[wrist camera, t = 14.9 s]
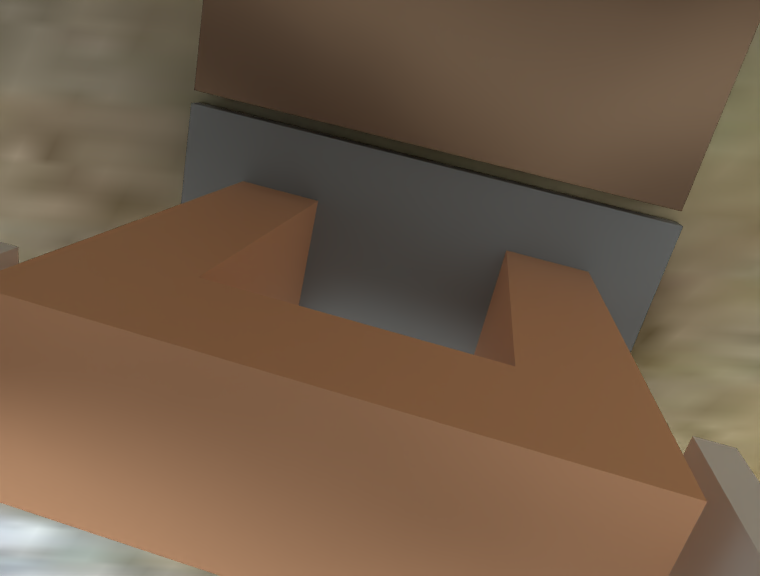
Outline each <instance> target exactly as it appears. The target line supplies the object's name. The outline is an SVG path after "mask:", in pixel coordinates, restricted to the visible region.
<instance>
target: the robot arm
mask: <svg viewBox="0 0 760 576" xmlns="http://www.w3.org/2000/svg"><path fill="white" fill-rule="evenodd" d="M17 264H19V260H18V247H17V246H13V245H9V244H6V243H2V242H0V270H3V269H6V268H9V267H11V266H14V265H17ZM683 456H684V458H685V460H686V462H687V464H688V466H689V467H690V469H691V471H692V473H693V475H694V477H695V479H696V481H697V483H698V485H699V487H700V489H701V491H702V493H703V495H704V497H705V498H706V500H707V503H706V505H705V507H704V509H703V511H702V513H701V515H700V517H699V518H698V520H697V522H696V524H695V526H694V528H693V530H692V532H691V534H690V536H689V538H688V540H687V541H686V543H685V545H684V547H683V549H682V551H681V553H680V555H679V557H678V559H677V561H676V563H675V564H674V566H673V568H672V570H671V572H670V574H669V576H760V483H759V481H758V480H757V478H756V477H755V475H754V474H753V472H752V471H751V469H750V468H749V466H748V465H747V463H746V461H745V460H744V458H743V457H742V455H741V454H740V452H739V451H738V449H737V448H734V447H730V446H727V445H723V444H720V443H716V442H712V441H709V440H705V439H702V438H698V437H695V436H693V437H692V439H691V441H690V443H689V445H688V447H687V449H686V451H685V453H684V455H683Z"/></svg>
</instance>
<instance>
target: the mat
mask: <svg viewBox="0 0 760 576" xmlns="http://www.w3.org/2000/svg"><path fill="white" fill-rule="evenodd" d="M242 181H244V182H248V183H252V184H256V185H259V186H263V187H267V188H271V189H275V190H278V191H282V192H286V193H290V194H294V195H297V196H301V197H305V198H309V199H313V200H317V201H318V204H317V209H316V215H315V220H314V226H313V231H312V236H311V242H310V247H309V253H308V258H307V263H306V269H305V274H304V280H303V285H302V290H301V296H300V301H299V306H302V307H306V308H309V309H313V310H316V311H320V312H323V313H327V314H331V315H334V316H338V317H341V318H345V319H348V320H352V321H355V322H359V323H363V324H366V325H370V326H373V327H377V328H380V329H384V330H387V331H391V332H394V333H398V334H402V335H405V336H409V337H412V338H416V339H419V340H423V341H426V342H430V343H434V344H437V345H441V346H444V347H448V348H451V349H455V350H458V351H462V352H465V353H469V354H473V355H474V353H475V350H476V347H477V343H478V340H479V337H480V334H481V331H482V327H483V324H484V321H485V318H486V315H487V311H488V308H489V305H490V302H491V298H492V295H493V292H494V289H495V286H496V282H497V279H498V276H499V273H500V269H501V266H502V263H503V260H504V257H505V253H506V250H507V251H511V252H515V253H518V254H522V255H526V256H530V257H534V258H537V259H541V260H545V261H549V262H553V263H556V264H560V265H564V266H568V267H572V268H575V269H579V270H583V271H587V272H589V274H590V276H591V278H592V280H593V281H594V283H595V285H596V287H597V289H598V291H599V293H600V295H601V297H602V299H603V301H604V303H605V305H606V307H607V309H608V311H609V312H610V314H611V316H612V318H613V320H614V322H615V324H616V326H617V328H618V330H619V332H620V334H621V336H622V338H623V340H624V342H625V343H626V345H627V347H628V349H629V351H630V352H631V350H632V348H633V345H634V343H635V340H636V338H637V336H638V333H639V331H640V328H641V326H642V324H643V321H644V319H645V316H646V314H647V312H648V309H649V307H650V304H651V302H652V300H653V297H654V295H655V292H656V290H657V288H658V285H659V283H660V280H661V278H662V276H663V273H664V271H665V268H666V266H667V264H668V261H669V259H670V256H671V254H672V252H673V249H674V247H675V244H676V242H677V240H678V237H679V235H680V232H681V230H682V228H683V226H682V225H680V224H679V223H678V222H675V221H671V220H667V219H663V218H659V217H655V216H651V215H647V214H643V213H639V212H635V211H631V210H627V209H623V208H619V207H615V206H611V205H607V204H603V203H599V202H595V201H591V200H587V199H583V198H579V197H575V196H571V195H567V194H563V193H559V192H555V191H551V190H547V189H543V188H539V187H535V186H531V185H527V184H523V183H519V182H515V181H511V180H507V179H503V178H499V177H495V176H491V175H487V174H483V173H480V172H476V171H472V170H468V169H464V168H460V167H456V166H452V165H448V164H444V163H440V162H436V161H432V160H428V159H424V158H420V157H416V156H412V155H408V154H404V153H400V152H396V151H392V150H388V149H384V148H380V147H376V146H372V145H368V144H364V143H360V142H356V141H352V140H348V139H344V138H340V137H336V136H332V135H328V134H324V133H320V132H316V131H312V130H308V129H304V128H300V127H296V126H292V125H288V124H284V123H280V122H276V121H272V120H268V119H264V118H260V117H256V116H252V115H248V114H244V113H240V112H236V111H232V110H228V109H224V108H220V107H216V106H212V105H208V104H204V103H191V111H190V121H189V131H188V141H187V151H186V160H185V170H184V180H183V190H182V200H181V204H182V203H185V202H188V201H191V200H193V199H196V198H199V197H201V196H204V195H207V194H210V193H212V192H215V191H218V190H220V189H223V188H226V187H229V186H231V185H234V184H237V183H240V182H242Z"/></svg>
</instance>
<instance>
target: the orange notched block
mask: <svg viewBox="0 0 760 576" xmlns="http://www.w3.org/2000/svg"><path fill="white" fill-rule="evenodd" d="M317 204H318V201H317V200H313V199H309V198H305V197H301V196H297V195H294V194H290V193H286V192H282V191H278V190H275V189H271V188H267V187H263V186H259V185H256V184H252V183H248V182H244V181H242V182H240V183H237V184H234V185H231V186H229V187H226V188H223V189H220V190H218V191H215V192H212V193H210V194H207V195H204V196H201V197H199V198H196V199H193V200H191V201H188V202H185V203H182V204H180V205H177V206H174V207H172V208H169V209H166V210H163V211H161V212H158V213H155V214H153V215H150V216H147V217H144V218H142V219H139V220H136V221H134V222H131V223H128V224H125V225H123V226H120V227H117V228H115V229H112V230H109V231H106V232H104V233H101V234H98V235H95V236H93V237H90V238H87V239H85V240H82V241H79V242H76V243H74V244H71V245H68V246H66V247H63V248H60V249H57V250H55V251H52V252H49V253H47V254H44V255H41V256H38V257H36V258H33V259H30V260H28V261H25V262H22V263H19V264H17V265H14V266H11V267H9V268H6V269H3V270H0V503H3V504H6V505H9V506H12V507H15V508H18V509H21V510H24V511H27V512H30V513H33V514H36V515H39V516H42V517H45V518H48V519H51V520H54V521H57V522H60V523H63V524H66V525H69V526H72V527H75V528H78V529H81V530H84V531H87V532H90V533H93V534H96V535H99V536H102V537H105V538H108V539H111V540H114V541H117V542H120V543H123V544H126V545H129V546H132V547H135V548H138V549H141V550H144V551H147V552H150V553H154V554H157V555H160V556H163V557H166V558H169V559H172V560H175V561H178V562H181V563H184V564H187V565H190V566H193V567H196V568H199V569H202V570H205V571H208V572H211V573H214V574H217V575H220V576H669V574H670V572H671V570H672V568H673V566H674V564H675V563H676V561H677V559H678V557H679V555H680V553H681V551H682V549H683V547H684V545H685V543H686V541H687V540H688V538H689V536H690V534H691V532H692V530H693V528H694V526H695V524H696V522H697V520H698V518H699V517H700V515H701V513H702V511H703V509H704V507H705V505H706V503H707V500H706V498H705V497H704V495H703V493H702V491H701V489H700V487H699V485H698V483H697V481H696V479H695V477H694V475H693V473H692V471H691V469H690V467H689V466H688V464H687V462H686V460H685V458H684V456H683V454H682V452H681V450H680V448H679V446H678V444H677V442H676V440H675V438H674V436H673V435H672V433H671V431H670V429H669V427H668V425H667V423H666V421H665V419H664V417H663V415H662V413H661V411H660V409H659V407H658V405H657V404H656V402H655V400H654V398H653V396H652V394H651V392H650V390H649V388H648V386H647V384H646V382H645V380H644V378H643V376H642V374H641V373H640V371H639V369H638V367H637V365H636V363H635V361H634V359H633V357H632V355H631V353H630V351H629V349H628V347H627V345H626V343H625V342H624V340H623V338H622V336H621V334H620V332H619V330H618V328H617V326H616V324H615V322H614V320H613V318H612V316H611V314H610V312H609V311H608V309H607V307H606V305H605V303H604V301H603V299H602V297H601V295H600V293H599V291H598V289H597V287H596V285H595V283H594V281H593V280H592V278H591V276H590V274H589V272H587V271H583V270H579V269H575V268H572V267H568V266H564V265H560V264H556V263H553V262H549V261H545V260H541V259H537V258H534V257H530V256H526V255H522V254H518V253H515V252H511V251H507V250H506V253H505V257H504V260H503V263H502V266H501V269H500V273H499V276H498V279H497V282H496V286H495V289H494V292H493V295H492V298H491V302H490V305H489V308H488V311H487V315H486V318H485V321H484V324H483V327H482V331H481V334H480V337H479V340H478V343H477V347H476V350H475V353H474V355H473V354H469V353H465V352H462V351H458V350H455V349H451V348H448V347H444V346H441V345H437V344H434V343H430V342H426V341H423V340H419V339H416V338H412V337H409V336H405V335H402V334H398V333H394V332H391V331H387V330H384V329H380V328H377V327H373V326H370V325H366V324H363V323H359V322H355V321H352V320H348V319H345V318H341V317H338V316H334V315H331V314H327V313H323V312H320V311H316V310H313V309H309V308H306V307H302V306H299V301H300V296H301V290H302V285H303V280H304V274H305V269H306V263H307V258H308V253H309V247H310V242H311V236H312V231H313V226H314V220H315V215H316V209H317Z"/></svg>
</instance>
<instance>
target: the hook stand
mask: <svg viewBox="0 0 760 576" xmlns="http://www.w3.org/2000/svg"><path fill="white" fill-rule="evenodd" d="M759 22H760V0H203V9H202V19H201V29H200V38H199V48H198V58H197V68H196V78H195V87H194V90H196V91H200V92H204V93H208V94H212V95H216V96H220V97H224V98H228V99H232V100H236V101H240V102H244V103H248V104H252V105H256V106H260V107H264V108H268V109H272V110H276V111H280V112H285V113H289V114H293V115H297V116H301V117H305V118H309V119H313V120H317V121H321V122H325V123H329V124H333V125H337V126H341V127H345V128H349V129H353V130H357V131H361V132H365V133H369V134H373V135H377V136H381V137H385V138H389V139H393V140H397V141H401V142H405V143H409V144H413V145H417V146H421V147H425V148H429V149H433V150H437V151H441V152H445V153H449V154H453V155H457V156H461V157H465V158H469V159H473V160H477V161H482V162H486V163H490V164H494V165H498V166H502V167H506V168H510V169H514V170H518V171H522V172H526V173H530V174H534V175H538V176H542V177H546V178H550V179H554V180H558V181H562V182H566V183H570V184H574V185H578V186H582V187H586V188H590V189H594V190H598V191H602V192H606V193H610V194H614V195H618V196H622V197H626V198H630V199H634V200H638V201H642V202H646V203H650V204H654V205H658V206H662V207H666V208H670V209H674V210H679V211H682V209H683V207H684V204H685V202H686V199H687V197H688V194H689V192H690V190H691V187H692V185H693V182H694V180H695V177H696V175H697V173H698V170H699V168H700V165H701V163H702V160H703V158H704V156H705V153H706V151H707V148H708V146H709V143H710V141H711V139H712V136H713V134H714V131H715V129H716V126H717V124H718V122H719V119H720V117H721V114H722V112H723V109H724V107H725V105H726V102H727V100H728V97H729V95H730V93H731V90H732V88H733V85H734V83H735V80H736V78H737V76H738V73H739V71H740V68H741V66H742V63H743V61H744V59H745V56H746V54H747V51H748V49H749V46H750V44H751V42H752V39H753V37H754V34H755V32H756V29H757V27H758V25H759Z"/></svg>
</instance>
